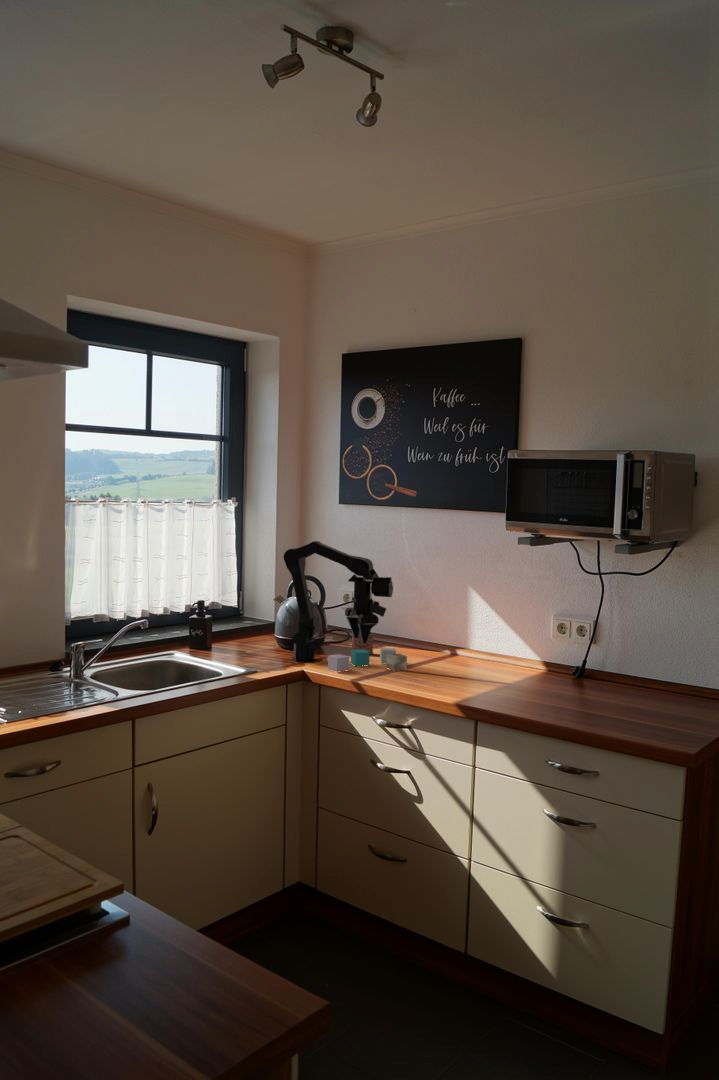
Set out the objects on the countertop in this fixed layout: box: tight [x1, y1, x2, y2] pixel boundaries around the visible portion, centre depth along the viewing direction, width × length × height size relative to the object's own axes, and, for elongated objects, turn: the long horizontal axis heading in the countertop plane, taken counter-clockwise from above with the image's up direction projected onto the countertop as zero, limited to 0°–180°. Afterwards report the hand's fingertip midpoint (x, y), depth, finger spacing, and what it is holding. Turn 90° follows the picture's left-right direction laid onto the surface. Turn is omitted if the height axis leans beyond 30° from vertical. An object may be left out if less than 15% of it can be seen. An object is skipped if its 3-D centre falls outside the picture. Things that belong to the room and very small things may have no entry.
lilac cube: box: [327, 653, 350, 672], centre depth 292 cm, size 5×5×5 cm
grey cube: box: [379, 646, 397, 664], centre depth 307 cm, size 5×5×5 cm
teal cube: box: [350, 649, 371, 667], centre depth 301 cm, size 5×5×5 cm
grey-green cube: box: [385, 653, 408, 671], centre depth 296 cm, size 5×5×5 cm
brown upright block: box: [351, 630, 375, 656], centre depth 320 cm, size 8×3×10 cm, turn 84°
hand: (360, 640), depth 301 cm, fingers open, 9 cm apart
